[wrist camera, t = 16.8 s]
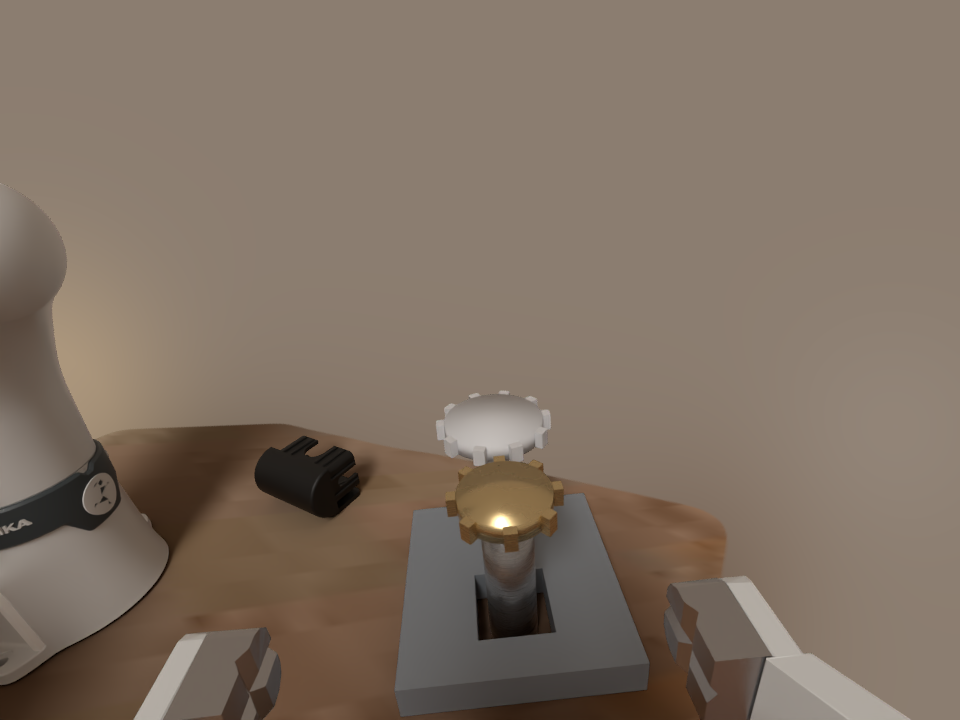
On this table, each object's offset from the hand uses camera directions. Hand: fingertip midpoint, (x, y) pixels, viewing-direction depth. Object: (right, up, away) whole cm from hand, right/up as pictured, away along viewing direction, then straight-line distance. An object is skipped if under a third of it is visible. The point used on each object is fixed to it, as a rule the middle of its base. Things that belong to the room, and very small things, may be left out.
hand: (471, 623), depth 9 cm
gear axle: (+3, -17, +30) cm, 35 cm away
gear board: (+3, -15, +34) cm, 37 cm away
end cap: (-20, -12, +47) cm, 52 cm away
